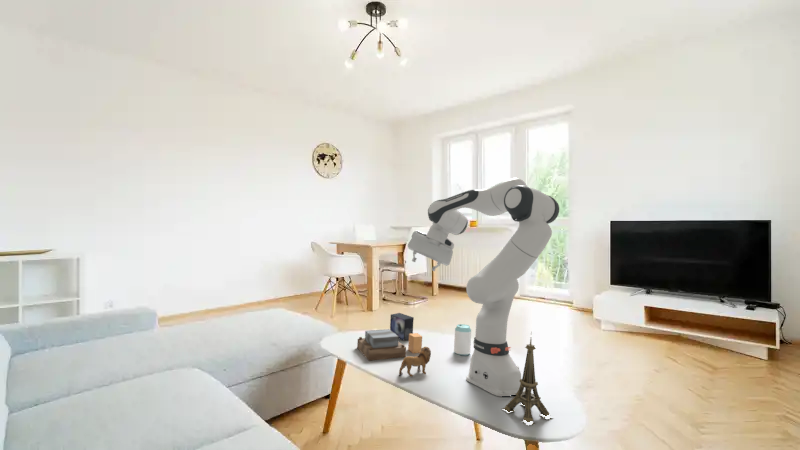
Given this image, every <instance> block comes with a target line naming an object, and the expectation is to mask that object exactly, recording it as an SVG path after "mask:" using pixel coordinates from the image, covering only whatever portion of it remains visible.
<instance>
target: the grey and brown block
mask: <svg viewBox="0 0 800 450" xmlns="http://www.w3.org/2000/svg"><path fill="white" fill-rule="evenodd" d="M399 340H400V339H399V336H397V335H396V334H395V333H393V332H392V331H391V330H390V328H388V329H386V328H385V329H373V330H372V329H370V330H365V331H364V337H363V336H359V337H358V338H357V345H356V347H357V349H358V350H359V352H360V353H361V354H362V355H363V356H364V357H365V359H367V360H368V361H369V362H370V361H379V360H390V359H398V358H399V359H400V358H405V357H407V356H406V355H407V347H406V346H405V344H403V343H401V342H400V341H399Z"/></svg>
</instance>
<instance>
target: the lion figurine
mask: <svg viewBox="0 0 800 450" xmlns="http://www.w3.org/2000/svg"><path fill="white" fill-rule="evenodd" d="M431 354H432V351H431V349H430V347H429V346H422V348H421V352H420V353H418V355H415V356H411V355H409V356H406V357H403V360H402V361H401V365H400V368H399V371H398V377H401V375H403V372H402V371H403V370H404V368H406V369H407V371H406V373H407V374H408V376H409V377H410V378H411V377H413V376H414V375H413V373H411V369H412V368H413V367H417V372H418V373H419V372H422V374H423V375H426V373H427V371H425V370H426V367H427V366H426V365H427V364H428V363H429V362H430V360H431ZM421 368H422V369H421Z"/></svg>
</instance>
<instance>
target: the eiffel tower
mask: <svg viewBox="0 0 800 450" xmlns="http://www.w3.org/2000/svg"><path fill="white" fill-rule="evenodd" d="M530 334H532V331H531V333H530ZM524 348H525V349H526V357H525V364H524V368H523V373H522V376H521V379H520V381H519V382H521V384H520V387H519V390H518V392H517V393H515V395H516V396H513V398H512V399H511V400H510V401H509V402H508V403H507V404H506V405H505V406H504V407H503V408H502V409H505V410H507V411H508V412H510V411H514V410H515V408H516V407H517V406H518V405H519V404H521V403H522V404H523V405H525V407H526V408H525V409H524V410H525V411H524V415H523V419H524V420H526V421H527V422H530V421H534V418H533V414H532V413H533V412H532V408H533V406H535V407H536V408H537V410H538V411H539V413H540V414H543V415H545V416H547V415H549V414H550V412H549V411H548V408H546V407H545V405H544V403H543V402H542V400H541V396H540V395H539V393H538V388H537V387H538V385H539V383H538V381H536V371H535V370H536V369H535V360H534V359H535V358H534V350H536V347H535V345H534V344H532V338H530V339H529V344H526V346H525V347H524ZM524 387H525V392H523V389H524Z"/></svg>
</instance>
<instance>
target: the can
mask: <svg viewBox="0 0 800 450" xmlns="http://www.w3.org/2000/svg"><path fill="white" fill-rule="evenodd" d="M471 345H472V329H471V326H470V325H469V324H465V323H463V324H461V323H459V324H457V325H456V327H455V328H454V344H453V353H455V354H456V355H458V356H469V354H471Z"/></svg>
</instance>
